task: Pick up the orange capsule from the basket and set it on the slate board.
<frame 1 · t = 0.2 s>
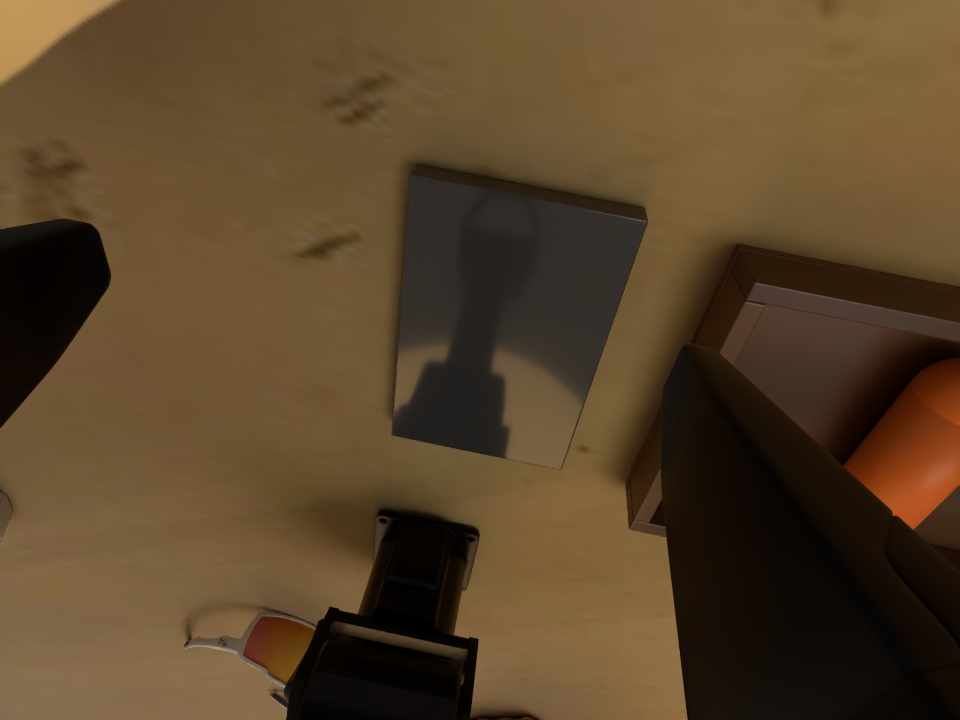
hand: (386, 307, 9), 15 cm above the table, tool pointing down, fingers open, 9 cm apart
orange capsule: (889, 434, 26), resting on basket
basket: (884, 427, 27), on the table
slate board: (500, 331, 27), on the table
sunglasses: (283, 651, 50), on the table
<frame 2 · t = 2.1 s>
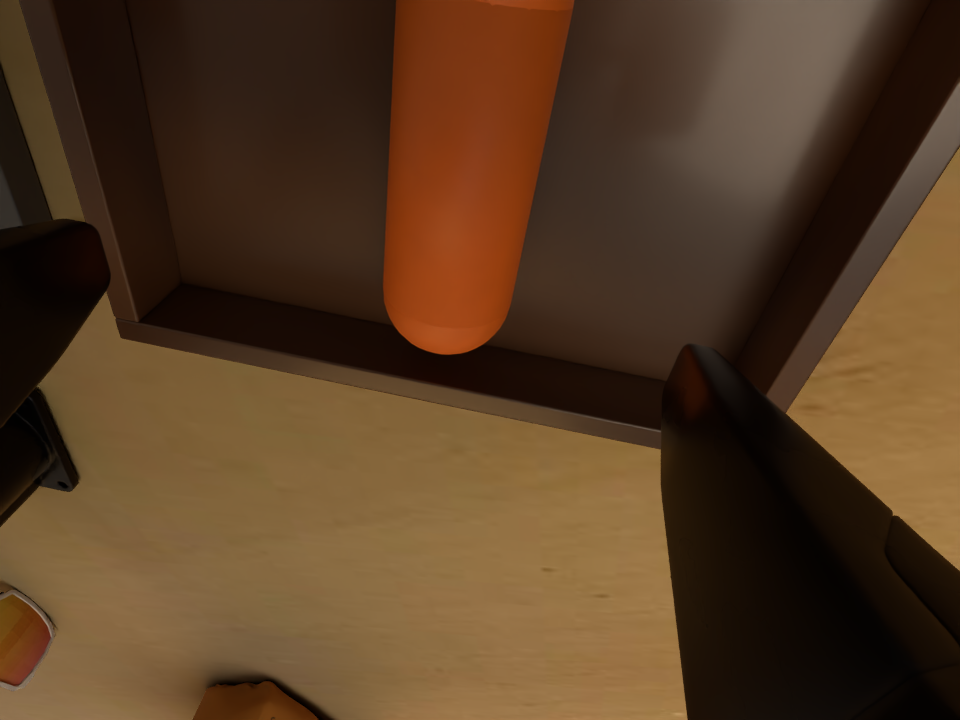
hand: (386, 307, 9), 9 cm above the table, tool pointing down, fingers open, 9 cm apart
orange capsule: (475, 141, 15), resting on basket
coffee package: (287, 712, 44), on the table
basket: (477, 136, 16), on the table
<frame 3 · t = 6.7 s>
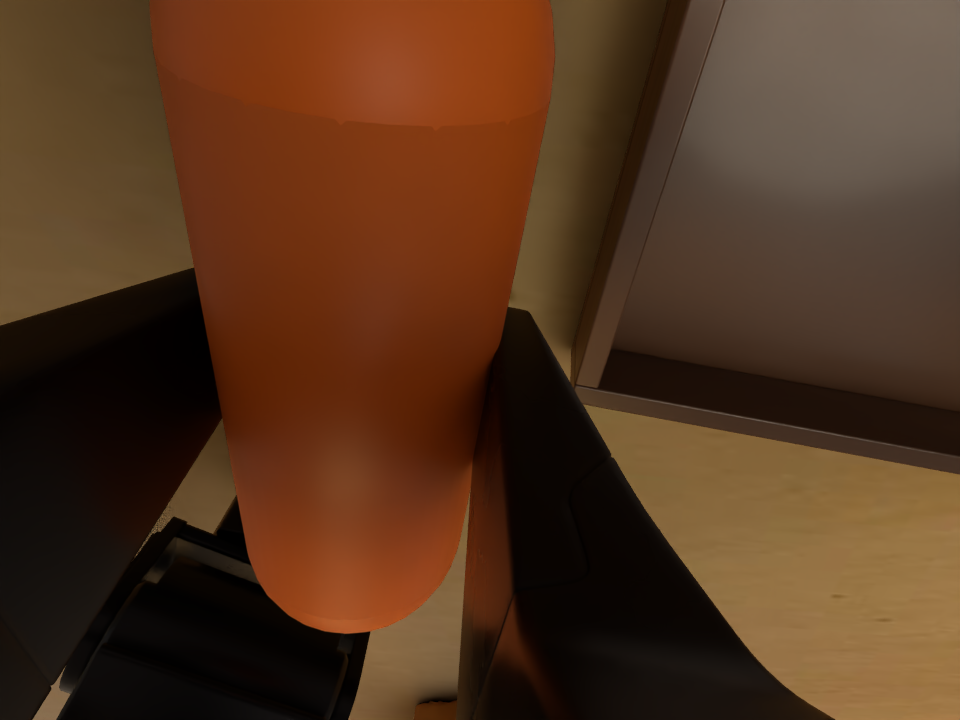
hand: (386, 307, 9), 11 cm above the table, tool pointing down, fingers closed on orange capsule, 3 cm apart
orange capsule: (395, 288, 9), point 10 cm above the table, touching gripper
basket: (955, 219, 17), on the table
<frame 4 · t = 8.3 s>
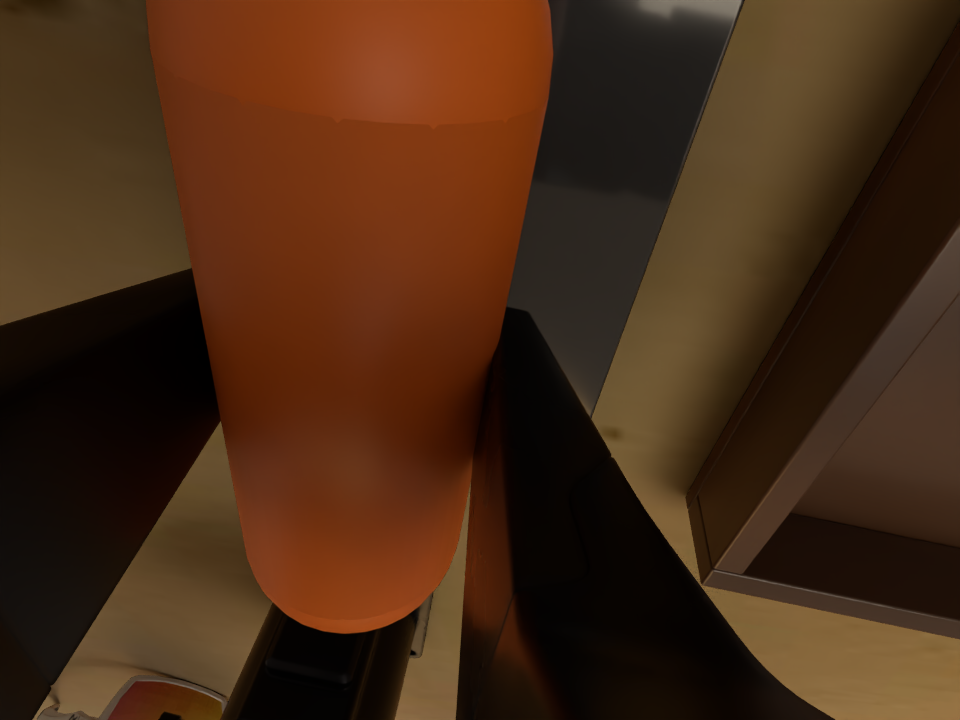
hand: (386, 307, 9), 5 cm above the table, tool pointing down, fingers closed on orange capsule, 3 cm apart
orange capsule: (393, 287, 9), point 5 cm above the table, touching gripper
slate board: (447, 183, 13), on the table
sunglasses: (182, 719, 37), on the table
when the fingers open (2 cm above the table, at t = 9.5 s): orange capsule stays where it is, resting on slate board.
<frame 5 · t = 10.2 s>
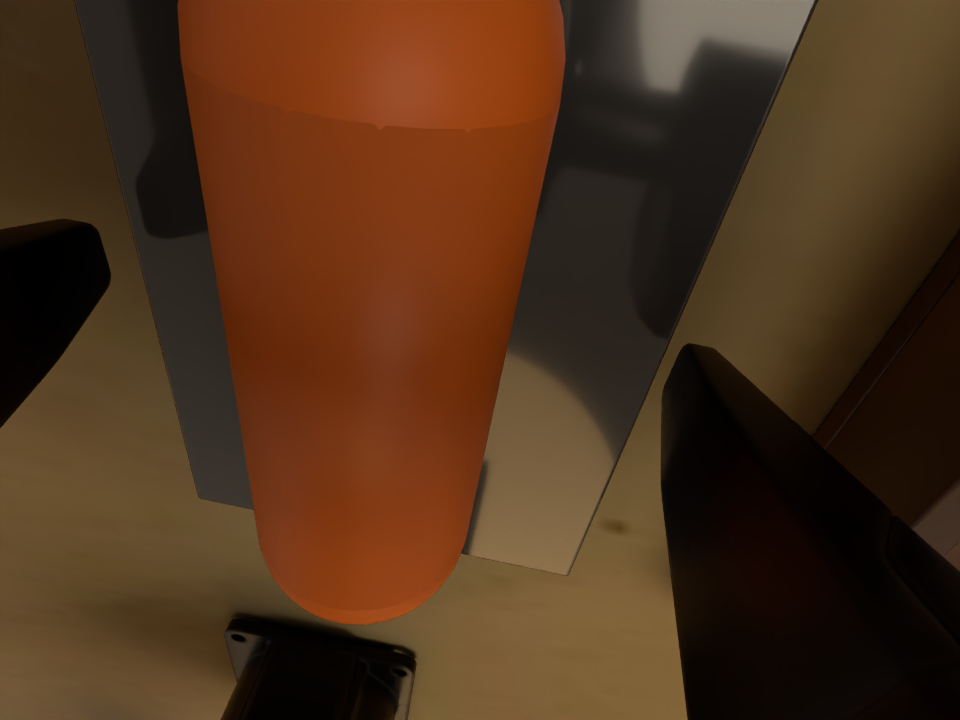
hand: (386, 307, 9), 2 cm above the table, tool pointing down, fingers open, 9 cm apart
orange capsule: (396, 285, 9), point 1 cm above the table, touching slate board
slate board: (414, 252, 10), on the table
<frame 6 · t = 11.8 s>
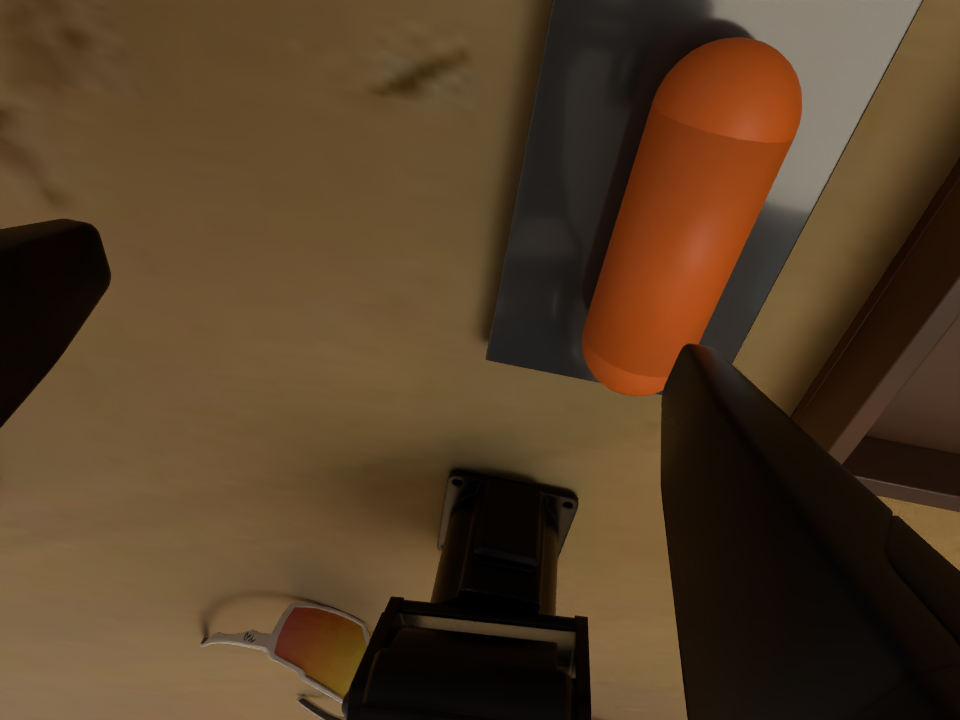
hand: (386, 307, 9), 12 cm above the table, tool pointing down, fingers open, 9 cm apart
orange capsule: (655, 217, 18), point 1 cm above the table, tilted 12°, touching slate board
slate board: (651, 203, 19), on the table
sunglasses: (316, 649, 43), on the table
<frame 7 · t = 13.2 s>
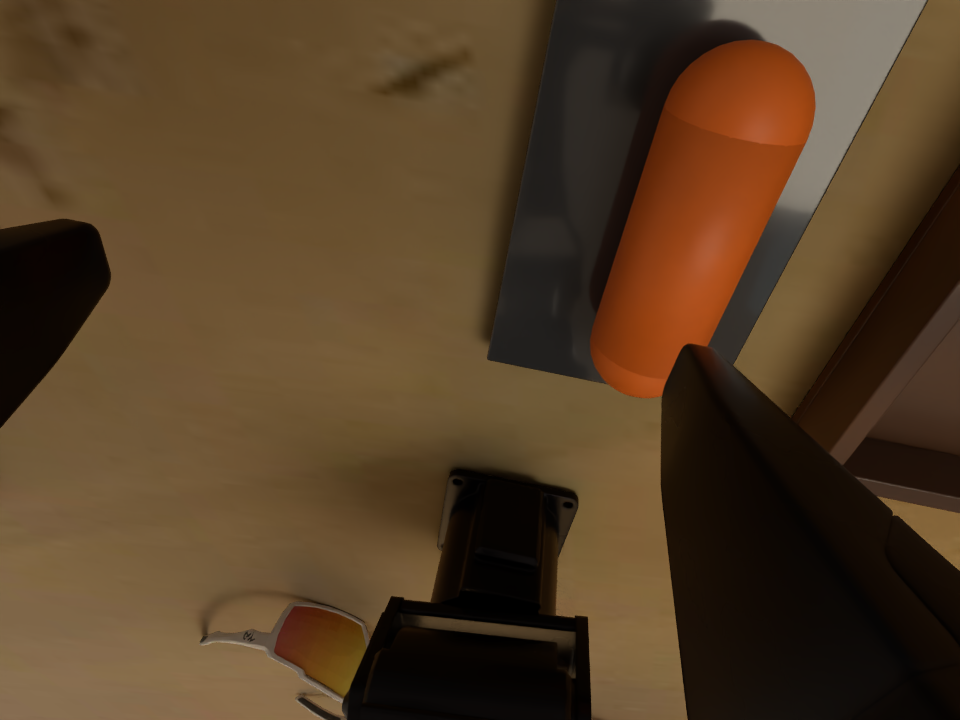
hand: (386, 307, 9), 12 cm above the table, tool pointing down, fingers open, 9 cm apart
orange capsule: (658, 219, 18), point 1 cm above the table, tilted 19°, touching slate board
slate board: (654, 203, 19), on the table
sunglasses: (315, 648, 43), on the table
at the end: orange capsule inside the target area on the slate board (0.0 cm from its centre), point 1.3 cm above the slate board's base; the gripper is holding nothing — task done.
